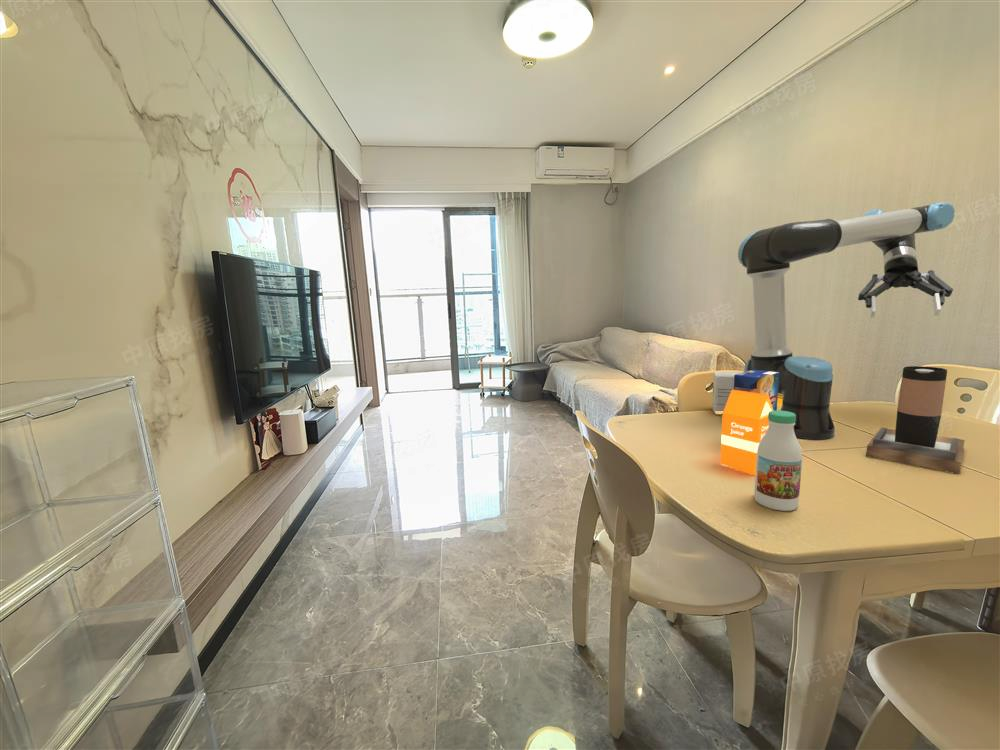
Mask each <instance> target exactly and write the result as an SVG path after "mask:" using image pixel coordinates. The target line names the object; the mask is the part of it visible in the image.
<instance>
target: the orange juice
mask: <svg viewBox="0 0 1000 750" xmlns="http://www.w3.org/2000/svg"><path fill="white" fill-rule="evenodd" d="M770 411H773V408H772V405H771V402H770V399H769V396H768V395H766V394H760V393H753V392H746V391H739V390H732V391H731V393H730V396H729V399H728V401H727V404H726V406H725V409H724V412H723V415H722V419H721V422H722V423H721V436H720V437H721V438H720V439H721V440H720V463H722V464H725V465H728V466H730V467H733V468H735V469H738V470H741V471H743V472H742V473H744V472H746V473H745V474H747V473H749V474H748V475H751V476H754V475H755V474H756V460H757V450H758V446H759V443H760V441H761V439H762V438H763V436H764V435H765V433H766V431H767V429H768V427H769V422H768V413H769V412H770ZM720 463H719V464H720ZM738 470H737V471H738ZM741 471H740V472H741Z"/></svg>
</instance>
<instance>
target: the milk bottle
mask: <svg viewBox="0 0 1000 750" xmlns="http://www.w3.org/2000/svg"><path fill="white" fill-rule="evenodd" d="M795 421H796V415H795V414H794V413H792V412H788V411H780V410H778V409H777V410H775V411H770V412H769V413H768V422H769V427H768V429H767V431H766V433H765V435H764V436H763V438H762V439H761V441H760V443H759V446H758V450H757V460H756V474H755V476H754V490H753V491H754V492H753V494H754V495H753V497H754V499H755V501H756V503H758V504H760V505H762V506H763V507H765V508H768V509H771V510H775V511H781V512H791V511H794V510H796V509H797V508H798V507H799V502H800V491H801V489H800V488H801V481H802V480H801V477H802V465H803V464H802V463H803V459H802V458H803V453H802V448H801V445H800V442H799V441H798V437H796V436H795V433H794V425H795Z"/></svg>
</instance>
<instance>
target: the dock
mask: <svg viewBox="0 0 1000 750" xmlns="http://www.w3.org/2000/svg"><path fill="white" fill-rule="evenodd" d="M895 431H896V429H893V428H887V427H880V426H879V429H878V430H877V431H876V433H875V434H874V435H873V437H872V438H871V440H870V441H869V443H868V444H867V446H866V454H865V456H866V457H869V458H874V459H880V460H884V461H891V462H895V463H900V464H905V465H909V464H910V465H911V466H915V465H917V466H916V467H920V466H923V467H922V468H925V467H927V468H926V469H930V468H932V469H931V470H935V469H937V471H940V470H942V472H946V471H948V472H947V473H951V472H953V473H952V474H956V473H958V474H957V475H960V470H961V464H962V459H963V452H964V447H965V446H964V445H965V440H966V439H962V438H961V439H959V438H956V437H947V436H942V435H941V436H940V435H937V439H936V443H935V447H934V448H931V447H925V446H919V445H913V444H907V443H901V442H895Z"/></svg>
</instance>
